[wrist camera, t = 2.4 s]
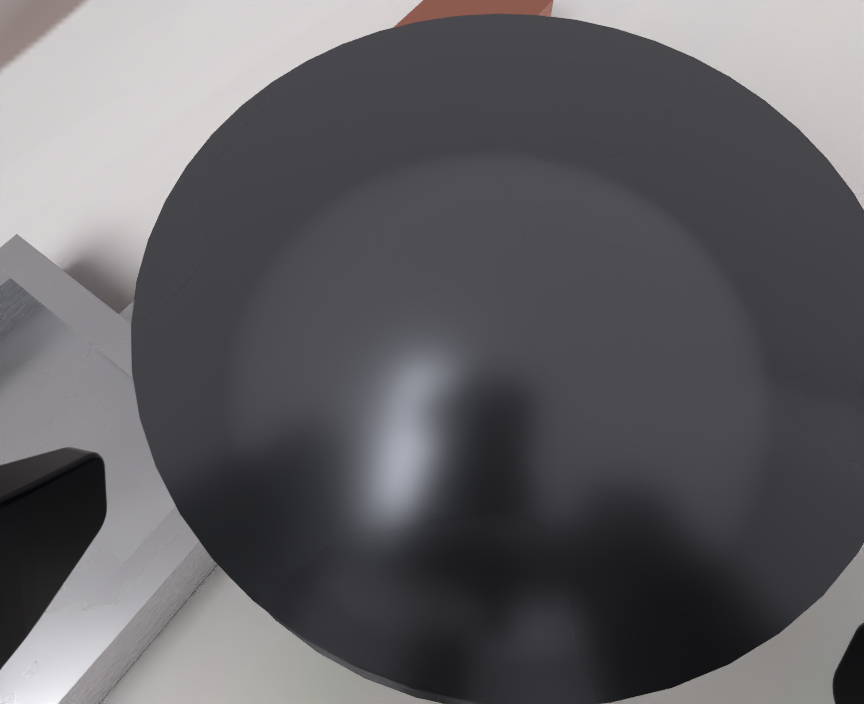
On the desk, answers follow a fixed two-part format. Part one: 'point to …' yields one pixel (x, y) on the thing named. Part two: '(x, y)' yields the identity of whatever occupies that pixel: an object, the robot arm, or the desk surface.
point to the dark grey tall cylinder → (511, 360)
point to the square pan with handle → (123, 456)
